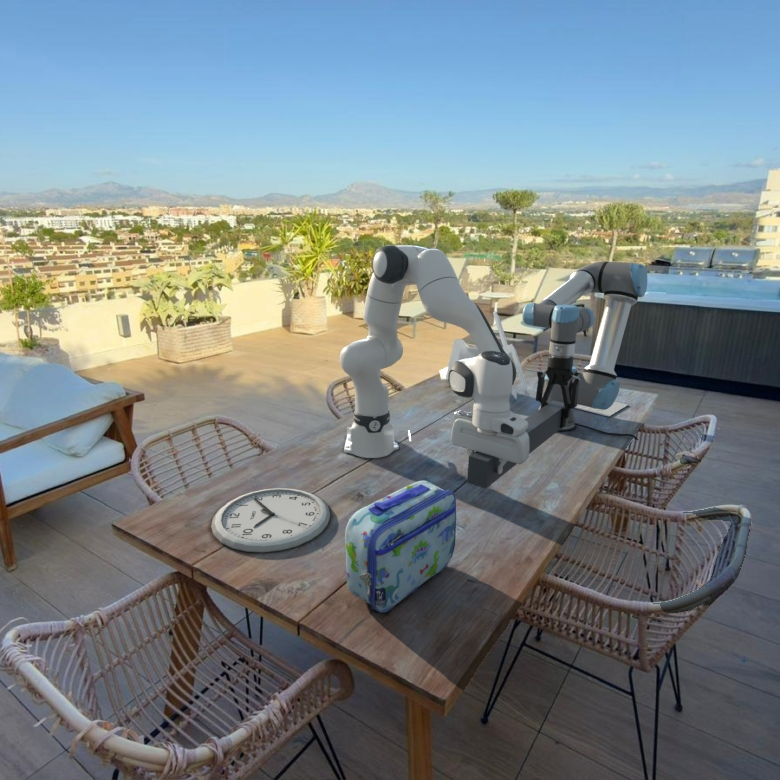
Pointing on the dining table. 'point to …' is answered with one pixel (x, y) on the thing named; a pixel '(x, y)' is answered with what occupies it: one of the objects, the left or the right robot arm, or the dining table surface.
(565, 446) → the dining table surface
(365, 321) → the left robot arm
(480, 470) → the post
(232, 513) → the wall clock
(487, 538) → the dining table surface
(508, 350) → the white plastic object
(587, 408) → the invitation card
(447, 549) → the lunch box
